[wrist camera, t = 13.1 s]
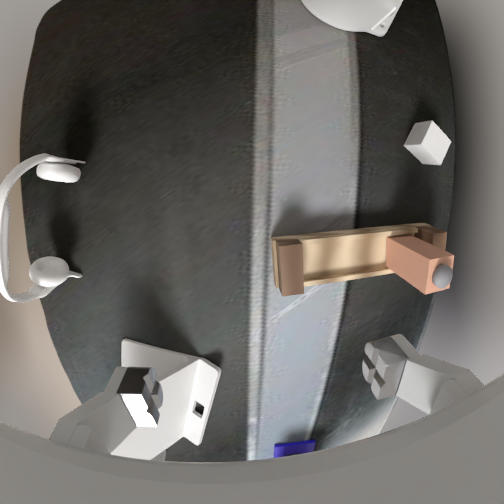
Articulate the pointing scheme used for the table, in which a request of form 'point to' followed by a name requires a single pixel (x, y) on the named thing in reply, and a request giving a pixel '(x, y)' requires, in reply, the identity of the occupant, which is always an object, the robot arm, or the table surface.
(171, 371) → the tablet stand
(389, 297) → the table surface
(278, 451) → the stapler
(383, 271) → the track
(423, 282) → the pink capped carton
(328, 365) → the table surface
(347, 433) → the table surface
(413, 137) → the white cube
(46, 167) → the headset
